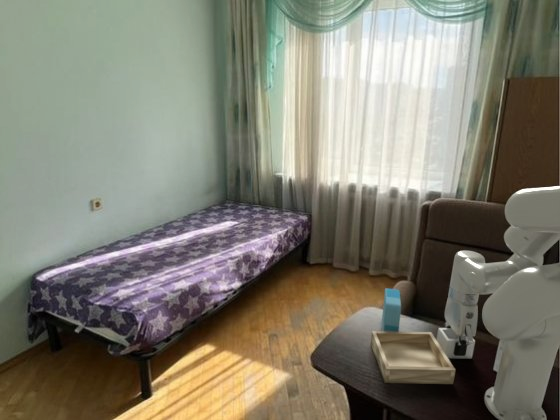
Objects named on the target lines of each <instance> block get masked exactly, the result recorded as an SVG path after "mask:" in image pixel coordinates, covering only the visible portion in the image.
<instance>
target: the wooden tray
mask: <svg viewBox="0 0 560 420" xmlns="http://www.w3.org/2000/svg"><path fill="white" fill-rule="evenodd" d="M370 337H371V339H370V346H371V348H372V350H373V351H372V352H373V354H374V356H375V357H374V358H375V360H376V363H377V365H378V369H379V370H380V373H381V374H380V375H381V376H382V379H383V382H384V384H422V385H424V384H425V385H426V384H427V385H428V384H430V385H433V384H434V385H453V384H454V381H455V375H456V368H455V367H454V365H453V364H452V362H451V360H450V358H448V357H447V356H446V354H445V353H444V351H443V350H442V348H441V347H440V345H439V343H438V342H437V338H436V337H435V336H434V334H433V333H432V332H431V331H398V332H394V331H381V330H372V331H371V336H370Z"/></svg>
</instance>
